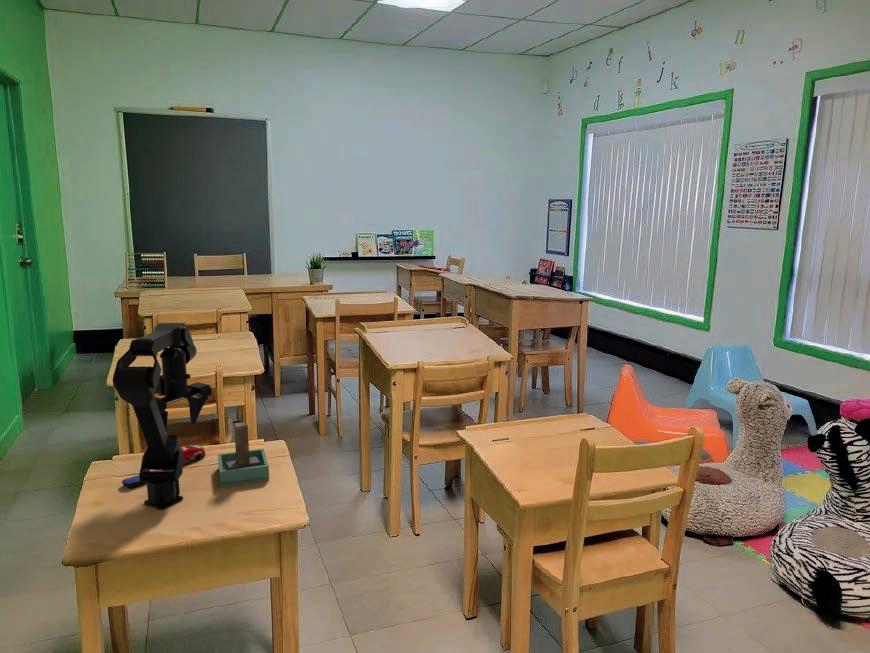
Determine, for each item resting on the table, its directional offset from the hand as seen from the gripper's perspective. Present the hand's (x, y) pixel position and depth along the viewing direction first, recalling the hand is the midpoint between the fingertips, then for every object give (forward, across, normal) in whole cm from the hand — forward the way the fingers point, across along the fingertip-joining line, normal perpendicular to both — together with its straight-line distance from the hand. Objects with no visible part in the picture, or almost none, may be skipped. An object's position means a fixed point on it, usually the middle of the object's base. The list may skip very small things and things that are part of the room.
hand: (178, 429), depth 167 cm
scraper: (+12, -9, +13) cm, 20 cm away
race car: (+14, -6, -7) cm, 16 cm away
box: (+13, -9, +13) cm, 20 cm away
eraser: (+14, +7, -6) cm, 16 cm away
